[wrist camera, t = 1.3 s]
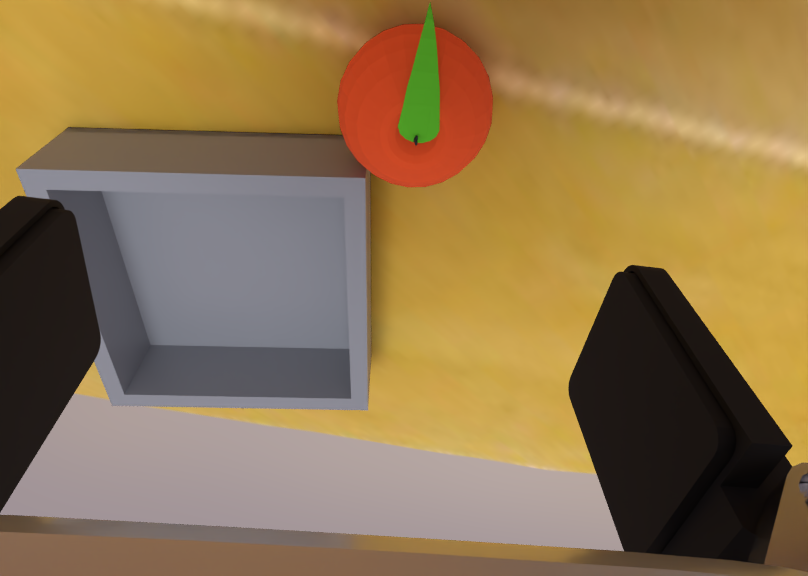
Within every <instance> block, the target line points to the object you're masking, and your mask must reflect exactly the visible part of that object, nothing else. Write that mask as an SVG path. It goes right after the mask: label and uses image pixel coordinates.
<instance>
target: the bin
mask: <svg viewBox="0 0 808 576" xmlns="http://www.w3.org/2000/svg"><path fill="white" fill-rule="evenodd" d="M16 171H17V173H18V176H19V178H20V181H21V183H22V186H23V188H24V191H25V193H26V196H27V197H35V198H43V199H52V200H58V201H59V202H61V203H62V205H63V206H64V208H65V210H70V211H72V212H73V214H74V215H75V218H76V222H77V226H78V231H79V236H80V240H81V245H82V250H83V254H84V259H85V264H86V269H87V273H88V278H89V283H90V287H91V292H92V297H93V301H94V306H95V311H96V316H97V320H98V325H99V330H100V335H101V344H100V349H99V352H98V355H97V357H96V358H95V360H94V362H95V365H96V367H97V370H98V372H99V375H100V377H101V379H102V382H103V384H104V387H105V389H106V392H107V394H108V397H109V399H110V402H111V404H112V406H160V407H216V408H272V409H329V410H368V399H369V383H370V367H371V200H370V171H369V170H367V169H366V168H365V167H364V166H363V165H361V164H360V163H359V162H358V161H357V160H356V158H355V157H354V155H353V154H352V152H351V151H350V150H349V148H348V147H347V145H346V142H345V140H344V137H343V135H322V134H286V133H250V132H215V131H179V130H144V129H108V128H72V127H68V128H67V129H66V130H64V131H63V132H62V133H61V134H59V135H58V136H57V137H55V138H54V139H53V140H52V141H50V142H49V143H48V144H47V145H45V146H44V147H43V148H41V149H40V150H39V151H38V152H36V153H35V154H34V155H33V156H31V157H30V158H29V159H28V160H26V161H25V162H24V163H22V164H21V165H20V166H19V167H17V168H16Z"/></svg>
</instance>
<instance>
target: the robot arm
mask: <svg viewBox="0 0 808 576" xmlns="http://www.w3.org/2000/svg"><path fill="white" fill-rule="evenodd" d="M100 344H101V335H100V330H99V325H98V320H97V316H96V311H95V306H94V301H93V297H92V292H91V287H90V283H89V278H88V273H87V269H86V264H85V259H84V254H83V250H82V245H81V240H80V236H79V231H78V226H77V222H76V218H75V215H74V214H73V212H72V211H70V210H65V208H64V206H63V205H62V203H61V202H59V201H58V200H52V199H43V198H35V197H26V196H17V197H15V198H13V199H12V200H11V201H10V202H8V203H7V204H6V205H5V206H4V207H2V208H1V209H0V512H1V510H2V509H3V507H4V506H5V504H6V502H7V501H8V499H9V497H10V496H11V494H12V493H13V491H14V489H15V488H16V486H17V484H18V483H19V481H20V480H21V478H22V476H23V475H24V473H25V471H26V470H27V468H28V467H29V465H30V463H31V462H32V460H33V459H34V457H35V455H36V454H37V452H38V450H39V449H40V447H41V445H42V444H43V442H44V441H45V439H46V437H47V436H48V434H49V433H50V431H51V430H52V428H53V426H54V425H55V423H56V421H57V420H58V418H59V417H60V415H61V413H62V412H63V410H64V408H65V407H66V405H67V404H68V402H69V400H70V399H71V397H72V396H73V394H74V392H75V391H76V389H77V388H78V386H79V384H80V383H81V381H82V379H83V378H84V376H85V375H86V373H87V371H88V370H89V368H90V367H91V365H92V363H93V362H94V360H95V358H96V357H97V355H98V352H99V349H100ZM569 396H570V400H571V403H572V406H573V408H574V411H575V414H576V417H577V420H578V422H579V425H580V428H581V431H582V434H583V437H584V439H585V442H586V445H587V448H588V451H589V453H590V456H591V459H592V462H593V465H594V468H595V470H596V473H597V476H598V479H599V482H600V484H601V487H602V490H603V493H604V496H605V499H606V501H607V504H608V507H609V510H610V513H611V515H612V518H613V521H614V524H615V527H616V530H617V532H618V535H619V538H620V541H621V544H622V546H623V549H624V551H610V550H594V549H580V548H563V547H549V546H532V545H518V544H502V543H501V544H500V543H485V542H471V541H456V540H440V539H424V538H407V537H391V536H390V537H389V536H374V535H357V534H340V533H323V532H306V531H289V530H272V529H255V528H237V527H220V526H201V525H184V524H166V523H165V524H164V523H147V522H128V521H111V520H92V519H74V518H54V517H53V518H52V517H37V516H17V515H0V576H808V463H800V464H798V465H796V466H793V467H792V465H791V464H790V463H789V461H788V460H787V458H786V457H785V455H786V453H787V452H788V451H789V450H790V449H791V447H792V445H791V443H790V442H789V440H788V439H787V438H786V436H785V435H784V434H783V432H782V431H781V429H780V428H779V427H778V425H777V424H776V422H775V421H774V420H773V418H772V417H771V416H770V414H769V413H768V411H767V410H766V409H765V407H764V406H763V404H762V403H761V402H760V400H759V399H758V398H757V396H756V395H755V393H754V392H753V391H752V389H751V388H750V386H749V385H748V384H747V382H746V381H745V380H744V378H743V377H742V375H741V374H740V373H739V371H738V370H737V368H736V367H735V366H734V364H733V363H732V361H731V360H730V359H729V357H728V356H727V355H726V353H725V352H724V350H723V349H722V348H721V346H720V345H719V343H718V342H717V341H716V339H715V338H714V337H713V335H712V334H711V332H710V331H709V330H708V328H707V327H706V325H705V324H704V323H703V321H702V320H701V319H700V317H699V316H698V314H697V313H696V312H695V310H694V309H693V307H692V306H691V305H690V303H689V302H688V301H687V299H686V298H685V296H684V295H683V294H682V292H681V291H680V289H679V288H678V287H677V285H676V284H675V283H674V281H673V280H672V278H671V277H670V276H669V274H668V273H667V272H666V271H665V270H664V269H661V268H654V267H645V266H636V265H631V266H628V267H627V268H626V269H625V270H624V272H618V273H617V274H616V275H615V276H614V278H613V280H612V282H611V284H610V287H609V289H608V291H607V294H606V296H605V298H604V301H603V303H602V305H601V308H600V310H599V312H598V314H597V317H596V319H595V321H594V324H593V326H592V328H591V331H590V333H589V335H588V338H587V340H586V342H585V345H584V347H583V349H582V352H581V354H580V356H579V359H578V361H577V363H576V366H575V368H574V370H573V373H572V375H571V377H570V380H569Z"/></svg>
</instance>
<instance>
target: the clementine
mask: <svg viewBox="0 0 808 576" xmlns="http://www.w3.org/2000/svg"><path fill="white" fill-rule="evenodd" d="M337 103H338V113H339V123H340V129H341V132H342V134H343V137H344V140H345V142H346V145H347V147H348V148H349V150H350V151H351V152H352V154H353V155H354V157H355V158H356V160H357V161H358V162H359V163H360V164H361V165H363V166H364V167H365V168H366V169H367V170H369V171H370V172H371V173H372V174H374V175H375V176H377V177H379V178H381V179H383V180H385V181H387V182H389V183H391V184H396V185H400V186H405V187H426V186H430V185H434V184H437V183H441V182H443V181H445V180H447V179H449V178H451V177H453V176H454V175H456V174H458V173H459V172H460V171H461V170H462V169H463V168H465V167H466V166H467V165H468V164H469V163H470V162H471V161H472V160H473V159H474V158H475V157H476V155H477V154H478V152H479V151H480V149H481V148H482V146H483V145H484V143H485V141H486V138H487V135H488V132H489V129H490V126H491V121H492V106H493V95H492V90H491V86H490V81H489V76H488V74H487V72H486V70H485V68H484V66H483V64H482V62H481V61H480V59H479V57H478V56H477V55H476V54H475V53H474V52H473V51H472V50H471V49H470V48H469V46H468V45H467V44H466V43H465V42H464V41H462V40H461V39H460V38H458V37H456V36H454V35H453V34H451V33H449V32H448V31H446V30H444V29H442V28H438V27H434V20H433V14H432V9H431V4H429V8H428V12H427V16H426V19H425V23H424V24H403V25H400V26H397V27H394V28H391V29H388V30H384V31H382V32H381V33H379V34H378V35H376V36H375V37H373V38H372V39H370V40H369V41H368V42H366V43H365V44H364V45H363V46H362V48H361V49H360V50H359V51H358V52H357V53H356V55H355V56H354V57H353V58H352V59H351V61H350V62H349V64H348V66H347V68H346V70H345V73H344V75H343V77H342V79H341V82H340V88H339V94H338V100H337Z"/></svg>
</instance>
